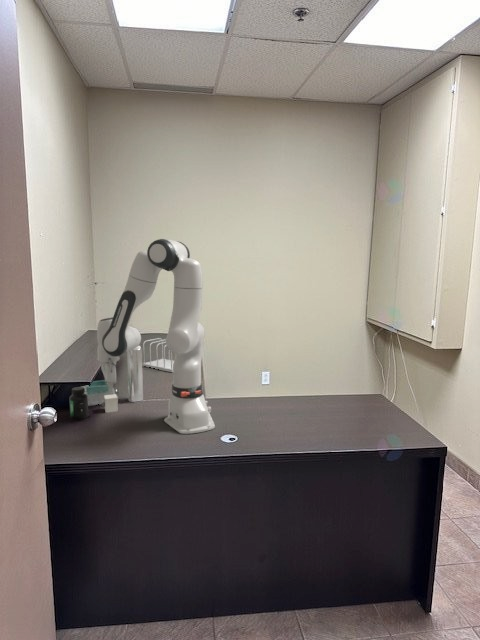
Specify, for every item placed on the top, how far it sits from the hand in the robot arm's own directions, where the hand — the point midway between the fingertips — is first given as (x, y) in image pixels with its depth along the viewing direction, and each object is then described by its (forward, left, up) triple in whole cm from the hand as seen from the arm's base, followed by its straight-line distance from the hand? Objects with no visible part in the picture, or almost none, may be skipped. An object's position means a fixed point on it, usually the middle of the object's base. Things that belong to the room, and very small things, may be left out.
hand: (108, 387), depth 175 cm
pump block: (0, -1, -10) cm, 10 cm away
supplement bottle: (-4, +12, -10) cm, 16 cm away
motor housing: (+16, +3, -10) cm, 19 cm away
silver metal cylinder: (+9, -13, -10) cm, 18 cm away
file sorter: (+62, -41, -10) cm, 75 cm away
